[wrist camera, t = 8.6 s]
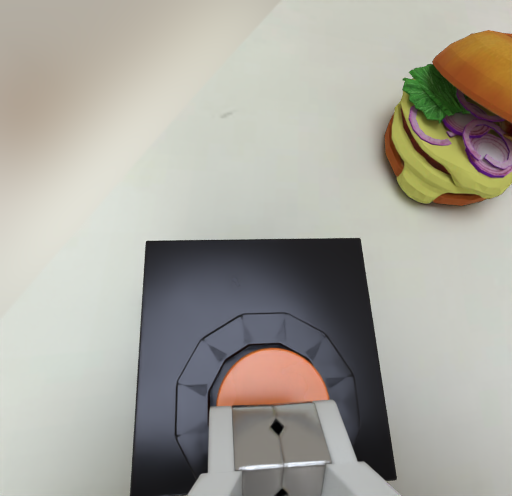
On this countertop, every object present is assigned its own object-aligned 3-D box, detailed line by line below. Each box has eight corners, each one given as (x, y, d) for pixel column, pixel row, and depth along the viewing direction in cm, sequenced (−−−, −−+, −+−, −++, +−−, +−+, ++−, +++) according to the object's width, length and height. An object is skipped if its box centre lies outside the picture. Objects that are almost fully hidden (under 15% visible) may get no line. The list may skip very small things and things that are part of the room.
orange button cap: (321, 457, 13) (338, 469, 11) (217, 464, 13) (216, 478, 11) (311, 350, 14) (324, 345, 12) (217, 354, 14) (215, 349, 12)
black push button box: (343, 454, 21) (422, 502, 12) (161, 466, 20) (114, 526, 11) (323, 278, 24) (375, 221, 16) (168, 281, 23) (136, 223, 15)
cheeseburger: (343, 161, 27) (423, 24, 19) (401, 105, 33) (481, -20, 25) (463, 245, 25) (608, 134, 17) (501, 170, 31) (625, 59, 23)
